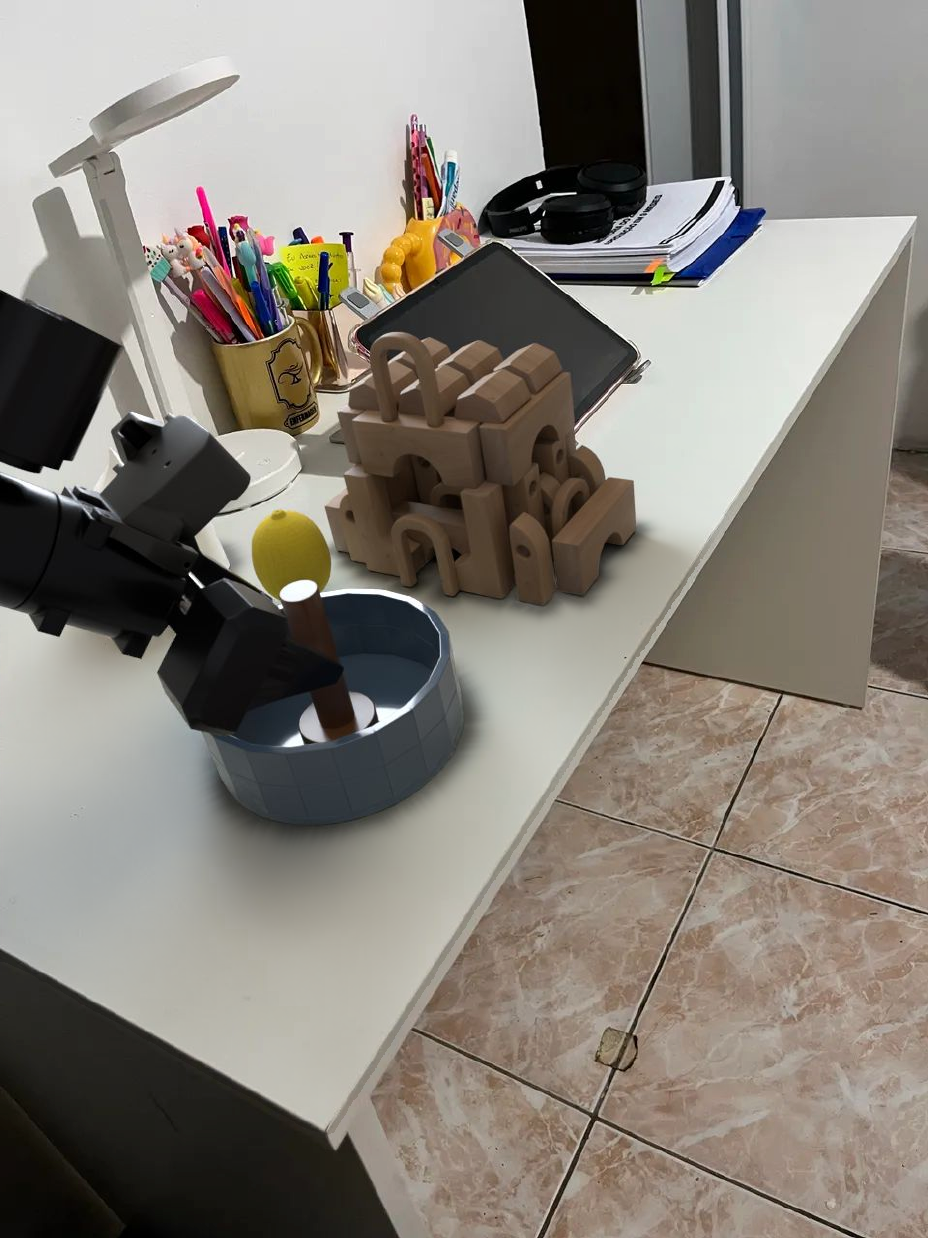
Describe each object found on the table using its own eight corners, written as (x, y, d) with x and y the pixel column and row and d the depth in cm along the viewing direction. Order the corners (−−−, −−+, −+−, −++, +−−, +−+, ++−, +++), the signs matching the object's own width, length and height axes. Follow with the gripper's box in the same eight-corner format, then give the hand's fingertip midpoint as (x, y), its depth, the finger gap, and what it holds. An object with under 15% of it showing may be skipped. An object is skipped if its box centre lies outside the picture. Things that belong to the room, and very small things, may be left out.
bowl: (360, 862, 50) (336, 789, 47) (169, 774, 58) (138, 706, 55) (510, 690, 59) (498, 619, 56) (328, 635, 67) (309, 570, 64)
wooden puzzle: (647, 516, 74) (636, 273, 63) (564, 621, 64) (534, 356, 54) (415, 482, 85) (372, 270, 74) (315, 567, 75) (249, 338, 65)
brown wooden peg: (344, 761, 55) (301, 624, 50) (284, 738, 58) (237, 605, 52) (393, 711, 59) (358, 576, 53) (334, 691, 61) (295, 560, 55)
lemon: (275, 588, 74) (246, 497, 69) (345, 579, 73) (320, 487, 69) (263, 629, 69) (231, 535, 65) (337, 620, 69) (310, 525, 64)
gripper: (176, 448, 36) (460, 575, 46) (54, 348, 49) (296, 464, 60) (51, 703, 37) (354, 770, 48) (-34, 538, 51) (217, 619, 61)
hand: (302, 638), depth 54 cm, fingers open, 9 cm apart
